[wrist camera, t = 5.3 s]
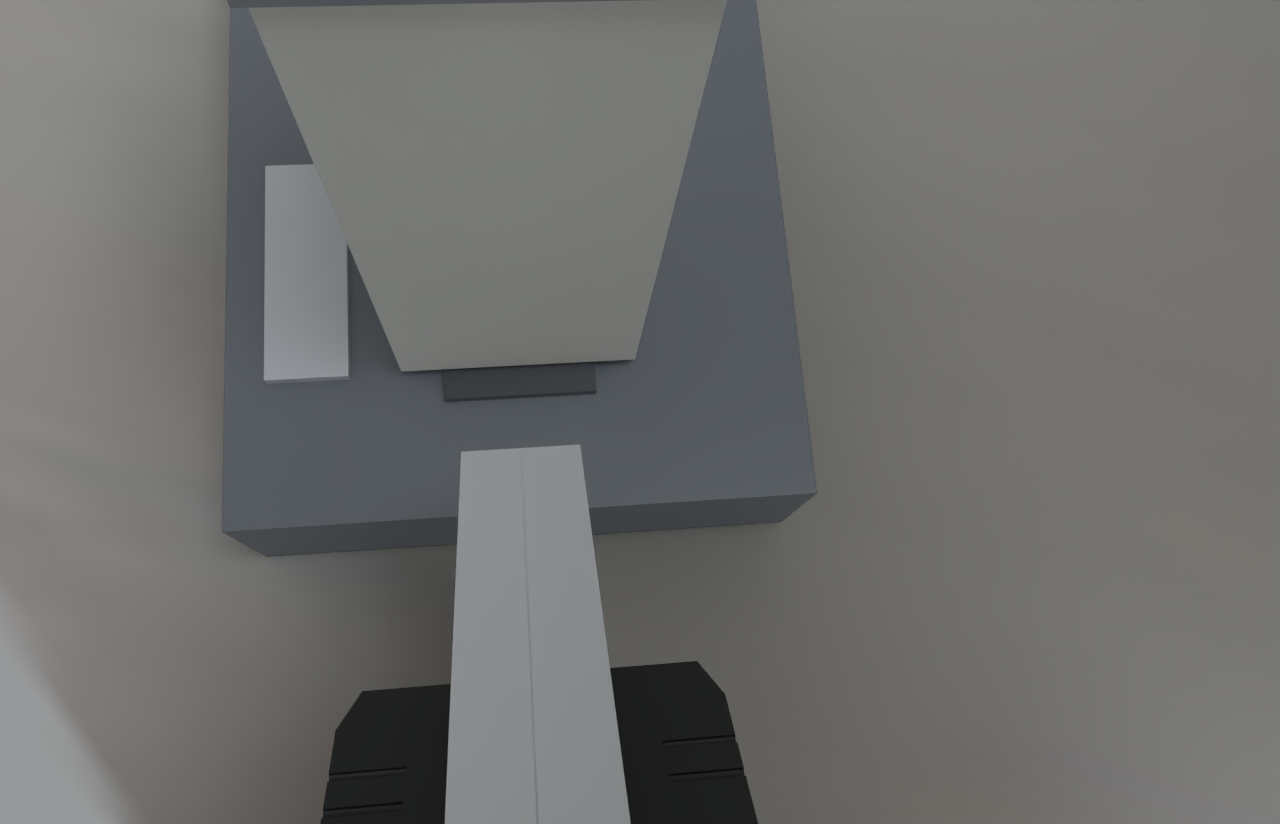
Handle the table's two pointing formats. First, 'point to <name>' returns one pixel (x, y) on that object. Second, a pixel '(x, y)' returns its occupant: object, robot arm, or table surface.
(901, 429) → the table surface
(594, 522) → the switch panel
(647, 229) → the switch tab
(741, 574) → the table surface
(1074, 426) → the table surface
